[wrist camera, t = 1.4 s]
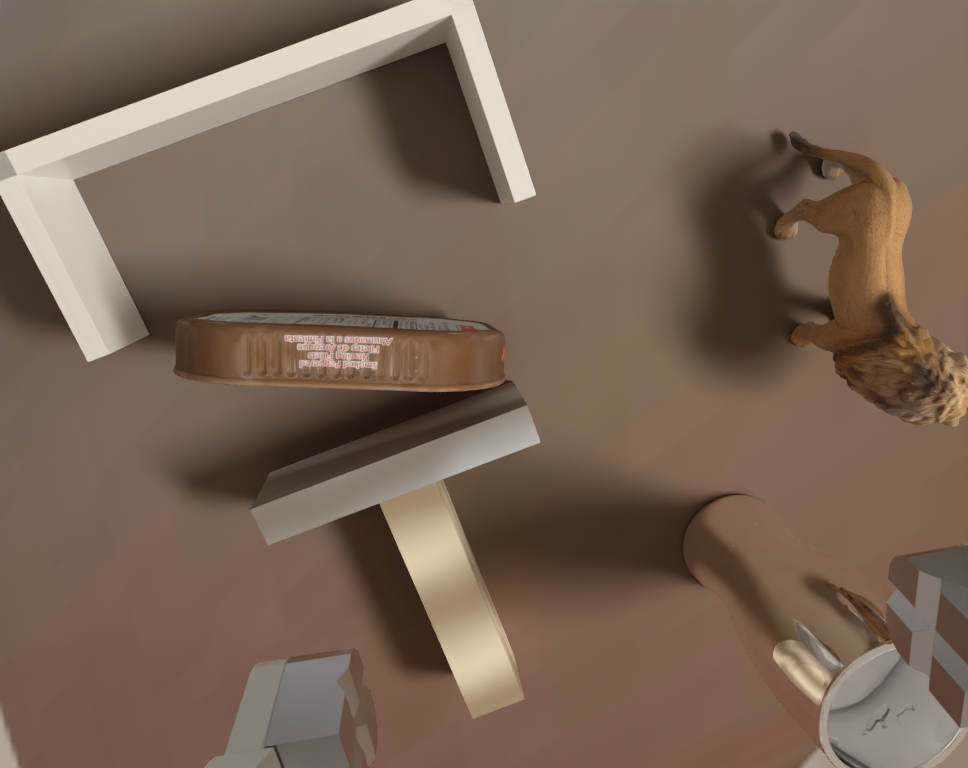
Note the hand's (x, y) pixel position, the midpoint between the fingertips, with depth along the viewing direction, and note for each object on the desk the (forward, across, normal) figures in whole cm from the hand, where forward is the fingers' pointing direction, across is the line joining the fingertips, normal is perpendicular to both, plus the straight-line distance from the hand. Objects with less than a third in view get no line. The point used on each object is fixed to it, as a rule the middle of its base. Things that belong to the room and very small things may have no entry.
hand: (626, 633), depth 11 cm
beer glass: (+26, +11, -19) cm, 34 cm away
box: (+28, -9, +5) cm, 30 cm away
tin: (+28, -8, -3) cm, 29 cm away
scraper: (+26, -5, -16) cm, 31 cm away
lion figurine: (+29, +18, -5) cm, 34 cm away
